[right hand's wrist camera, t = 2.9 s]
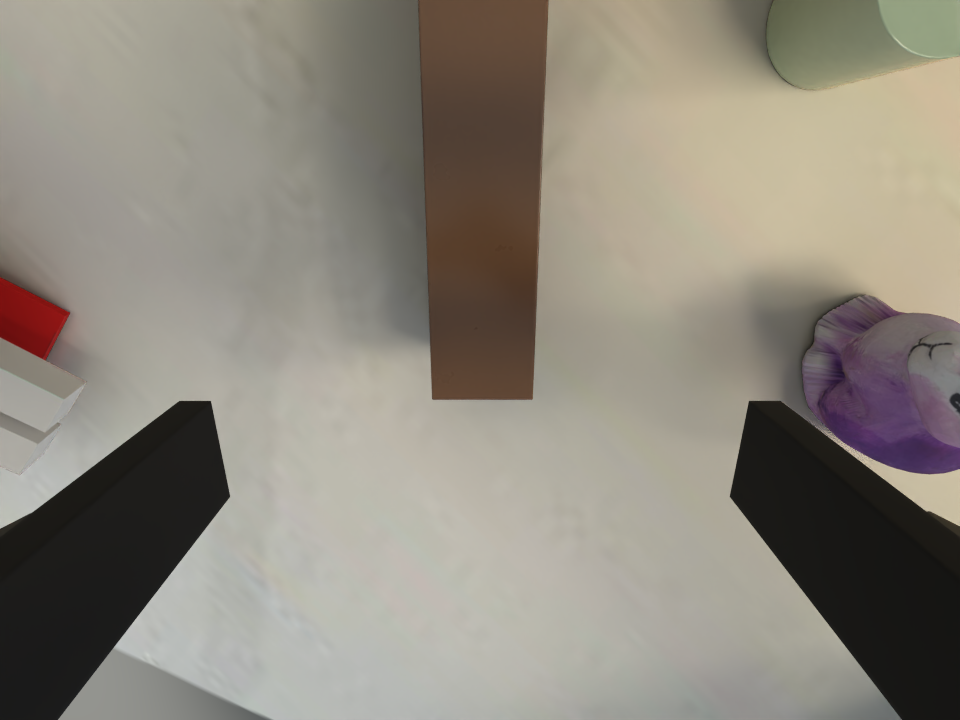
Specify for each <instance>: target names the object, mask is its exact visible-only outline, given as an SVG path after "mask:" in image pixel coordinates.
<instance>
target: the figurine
mask: <svg viewBox="0 0 960 720" xmlns="http://www.w3.org/2000/svg"><path fill="white" fill-rule="evenodd" d="M802 364H803V366H802V375H803V378H802V380H803V386H804V393H805V396H806V400H807V404H808V407H809V408H810V409H811V410H812V412H813V413H814V414H815V415H816V417H817V418H818V419H819V420H820V421H821V422H822V423H823V424H824V425H825V426H826V427H827V428H828V429H829V430H830V431H831V432H832V433H833V434H834V435H835V436H836V437H837V438H839V439H840V440H841V441H842V442H844V443H845V444H847V445H848V446H850V447H852V448H854V449H855V450H857V451H859V452H861V453H862V454H864V455H866V456H868V457H870V458H872V459H874V460H876V461H878V462H880V463H883V464H885V465H887V466H890V467H893V468H897V469H900V470H904V471H908V472H913V473H920V474H939V473H947V472H951V471H954V470H958V469H960V324H959V323H957V322H955V321H953V320H951V319H948V318H945V317H941V316H937V315H932V314H924V313H902V312H897V311H895V310H893V309H892V308H891V307H889V306H888V305H886V304H885V303H884V302H882V301H881V300H879V299H878V298H876V297H872V296H868V295H864V296H858V297H857V298H854V299H853V300H850V301H849V302H845V304H844V305H841V306H840V307H837V308H836V309H833V310H832V311H829V312H828V313H827V314H826V315H823V317H822V319H820V320H819V321H818V323H817V325H816V327H815V334H814V342H813V345H812V346H811V348H810V349H808V350H807V352H806V353H805V356H804V358H803V361H802Z"/></svg>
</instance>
